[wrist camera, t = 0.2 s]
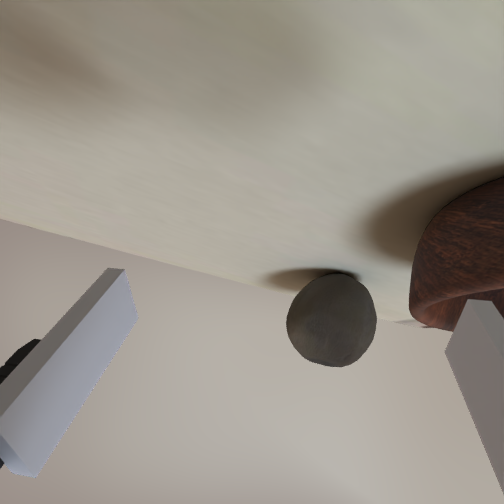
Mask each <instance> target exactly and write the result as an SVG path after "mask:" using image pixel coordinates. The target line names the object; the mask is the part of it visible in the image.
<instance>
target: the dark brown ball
mask: <svg viewBox="0 0 504 504" xmlns="http://www.w3.org/2000/svg"><path fill="white" fill-rule="evenodd" d="M376 323H377V316H376V311H375V308H374V303H373V300H372V297H371V295H370V293H369V291H368V290H367V288H366V287H365V286H364V285H363V284H361V283H360V282H358V281H357V280H355V279H353V278H351V277H349V276H347V275H344V274H329V275H325V276H322V277H319V278H317V279H315V280H313V281H312V282H310V283H309V284H308V285H306V286H305V287H304V288H303V289H302V290H301V291H300V292H299V293H298V294H297V296H296V297H295V298H294V300H293V302H292V304H291V307H290V309H289V312H288V315H287V321H286V325H287V326H286V327H287V332H288V336H289V339H290V341H291V342H292V344H293V346H294V347H295V349H296V350H297V351H298V352H299V353H300V354H301V355H302V356H303V357H304V358H305V359H307V360H309V361H311V362H314V363H318V364H321V365H325V366H330V367H343V366H347V365H350V364H352V363H354V362H355V361H357V360H358V359H359V358H360V357H361V356H362V355H363V354H364V353H365V352H366V350H367V348H368V347H369V346H370V344H371V342H372V340H373V338H374V334H375V330H376Z"/></svg>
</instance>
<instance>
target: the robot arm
mask: <svg viewBox="0 0 504 504" xmlns="http://www.w3.org/2000/svg"><path fill="white" fill-rule="evenodd" d="M137 320H138V315H137V311H136V307H135V304H134V300H133V297H132V293H131V290H130V286H129V282H128V279H127V275H126V272H125V269H114V268H107V269H106V270H105V271H104V273H103V274H102V275H101V276H100V277H99V278H98V279H97V280H96V282H94V283H93V284H92V286H91V287H90V288H89V289H88V290H87V291H86V292H85V293H84V294H83V295H82V296H81V297H80V299H79V300H78V301H77V302H76V303H75V304H74V305H73V306H72V307H71V308H70V309H69V311H68V312H67V313H66V314H65V315H64V316H63V317H62V318H61V319H60V320H59V321H58V323H57V324H56V325H55V326H54V327H53V328H52V329H51V330H50V331H49V333H47V334H46V335H45V337H44V338H43V339H42V340H39V339H33V340H32V341H30V342H29V343H27V344H26V345H24V346H23V347H21V348H20V349H18V350H17V351H16V352H15V353H14V354H13V355H12V356H11V357H10V358H9V359H8V360H7V361H6V363H5V365H4V366H2V367H1V368H0V468H1V467H2V466H3V464H5V465H6V466H7V467H8V469H9V470H10V471H11V472H12V473H13V474H18V475H23V476H28V477H33V478H36V477H37V475H38V473H39V472H40V471H41V469H42V467H43V466H44V464H45V463H46V461H47V460H48V458H49V457H50V455H51V453H52V452H53V450H54V449H55V447H56V446H57V444H58V442H59V441H60V439H61V438H62V436H63V435H64V433H65V432H66V430H67V429H68V427H69V425H70V424H71V422H72V421H73V419H74V417H75V416H76V414H77V413H78V411H79V410H80V408H81V406H82V405H83V404H84V402H85V401H86V399H87V397H88V396H89V394H90V392H91V391H92V390H93V388H94V386H95V385H96V383H97V382H98V380H99V379H100V377H101V375H102V374H103V372H104V371H105V369H106V368H107V366H108V365H109V363H110V361H111V360H112V359H113V357H114V355H115V354H116V352H117V351H118V349H119V348H120V346H121V345H122V343H123V341H124V340H125V338H126V337H127V335H128V334H129V332H130V331H131V329H132V327H133V326H134V324H135V323H136V321H137ZM445 354H446V356H447V358H448V361H449V363H450V366H451V368H452V371H453V373H454V375H455V378H456V380H457V383H458V385H459V387H460V390H461V392H462V394H463V397H464V399H465V402H466V404H467V407H468V409H469V412H470V414H471V416H472V419H473V421H474V424H475V426H476V428H477V431H478V433H479V436H480V438H481V441H482V443H483V445H484V448H485V450H486V453H487V455H488V457H489V460H490V462H491V465H492V467H493V469H494V472H495V474H496V477H497V479H498V481H499V484H500V486H501V489H502V491H503V494H504V319H503V317H502V316H501V314H500V313H499V312H498V310H497V309H496V307H495V306H494V304H493V303H492V301H484V300H472V299H468V300H467V302H466V305H465V307H464V309H463V311H462V314H461V316H460V318H459V320H458V323H457V325H456V327H455V329H454V332H453V334H452V336H451V338H450V341H449V343H448V345H447V348H446V350H445Z"/></svg>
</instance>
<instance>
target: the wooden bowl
mask: <svg viewBox="0 0 504 504" xmlns="http://www.w3.org/2000/svg"><path fill="white" fill-rule="evenodd" d="M468 299H472V300H484V301H492V303H493V304H494V306H495V307H496V309H497V310H498V312H499V313H500V314H501V316H502V317H503V319H504V177H503V178H500V179H497V180H494V181H492V182H489V183H487V184H484V185H482V186H480V187H478V188H475V189H473V190H471V191H469V192H467V193H465V194H464V195H462V196H460V197H458V198H457V199H455V200H454V201H452V202H451V203H449V204H448V205H447V206H446V207H444V208H443V209H442V210H441V211H440V212H439V213H438V214H437V215H436V216H435V217H434V218H433V219H432V220H431V222H430V223H429V225H428V226H427V228H426V229H425V231H424V233H423V235H422V237H421V239H420V241H419V244H418V247H417V250H416V253H415V257H414V262H413V267H412V274H411V283H410V293H409V310H410V313H411V315H412V317H413V318H415V319H416V320H417V321H419V322H421V323H423V324H425V325H428V326H431V327H434V328H438V329H442V330H447V331H452V332H454V329H455V327H456V325H457V323H458V320H459V318H460V316H461V314H462V311H463V309H464V307H465V305H466V302H467V300H468Z"/></svg>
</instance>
